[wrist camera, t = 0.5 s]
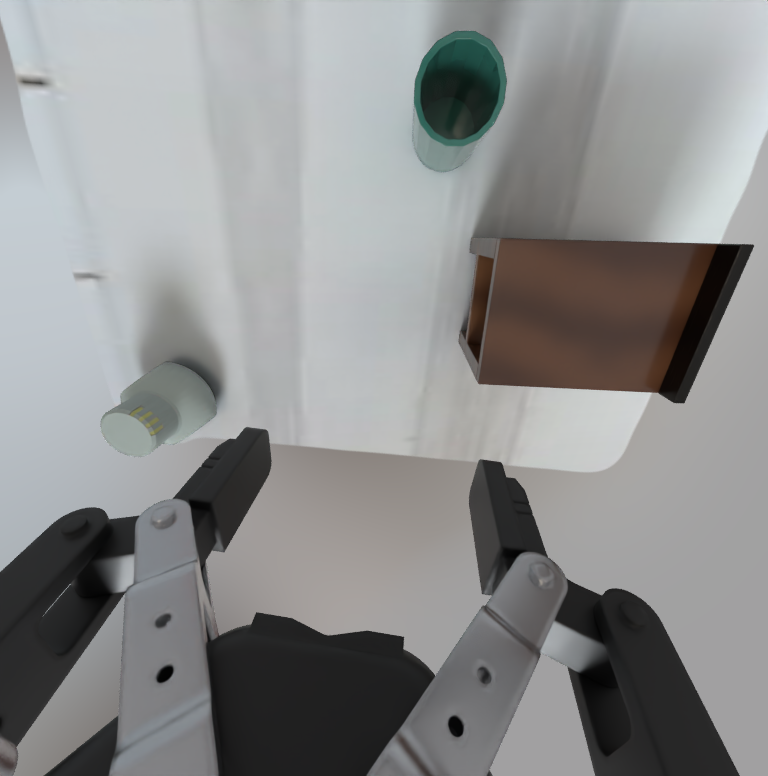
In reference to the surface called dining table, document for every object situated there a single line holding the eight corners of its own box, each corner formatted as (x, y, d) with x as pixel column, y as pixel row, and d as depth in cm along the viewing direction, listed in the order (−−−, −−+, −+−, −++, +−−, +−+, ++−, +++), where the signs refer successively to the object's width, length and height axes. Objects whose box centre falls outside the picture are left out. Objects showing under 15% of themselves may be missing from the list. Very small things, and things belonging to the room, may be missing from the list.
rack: (471, 237, 34) (507, 238, 21) (624, 241, 33) (755, 244, 21) (458, 342, 38) (482, 393, 26) (592, 348, 38) (684, 403, 25)
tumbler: (414, 94, 29) (417, 30, 20) (481, 94, 29) (513, 30, 20) (411, 171, 32) (411, 145, 23) (472, 172, 32) (497, 146, 23)
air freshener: (180, 435, 47) (125, 483, 37) (134, 389, 44) (62, 429, 35) (236, 398, 44) (190, 441, 34) (190, 347, 41) (127, 378, 32)
